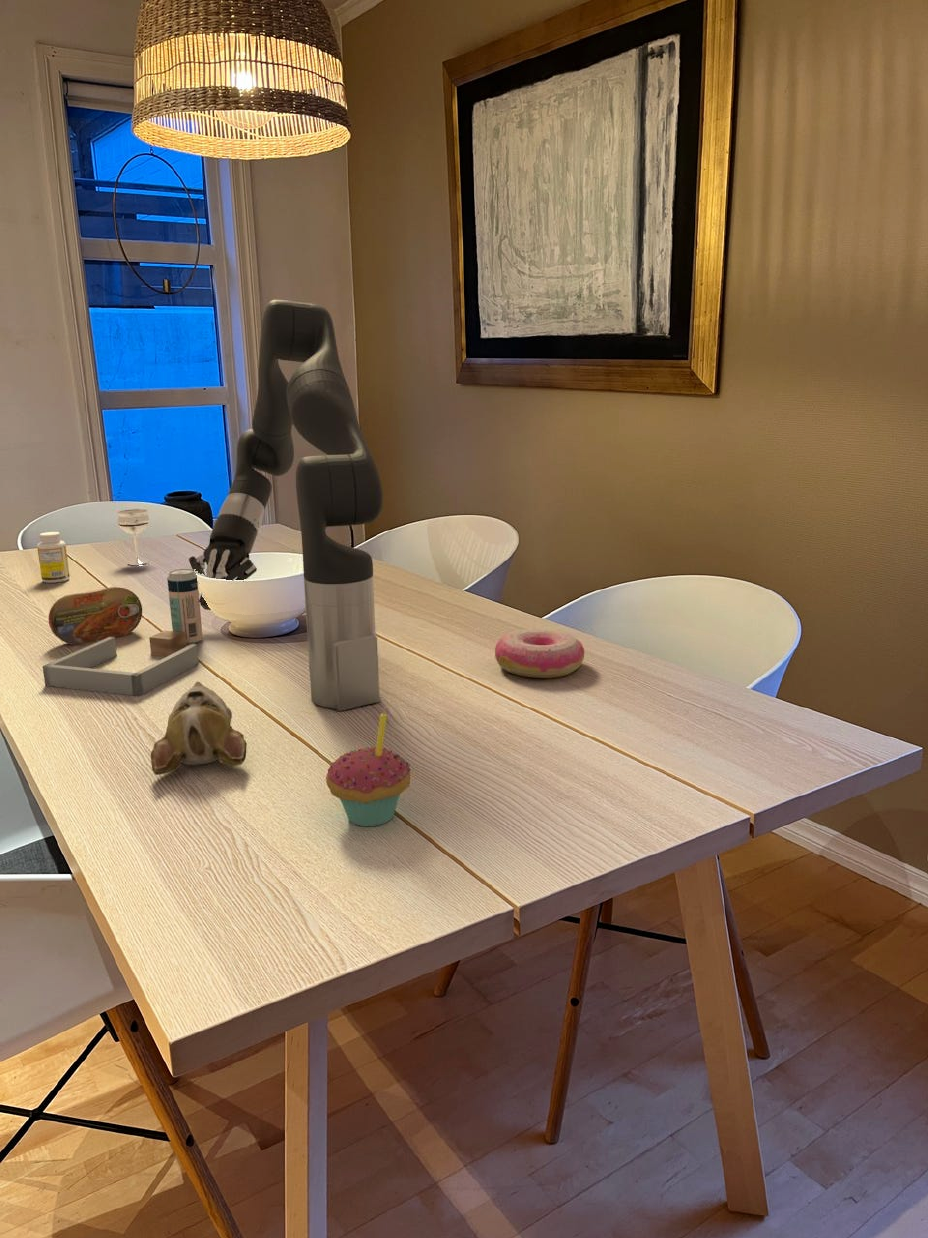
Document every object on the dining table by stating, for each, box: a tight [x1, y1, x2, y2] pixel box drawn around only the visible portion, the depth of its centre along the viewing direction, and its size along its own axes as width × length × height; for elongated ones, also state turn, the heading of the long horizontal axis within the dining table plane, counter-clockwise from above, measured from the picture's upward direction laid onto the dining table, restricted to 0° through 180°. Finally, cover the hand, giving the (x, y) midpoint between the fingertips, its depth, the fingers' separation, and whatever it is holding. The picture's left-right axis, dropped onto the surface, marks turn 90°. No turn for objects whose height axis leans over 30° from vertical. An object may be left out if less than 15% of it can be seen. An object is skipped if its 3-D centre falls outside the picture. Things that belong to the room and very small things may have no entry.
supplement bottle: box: [36, 531, 71, 584], centre depth 200 cm, size 6×6×10 cm
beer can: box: [166, 568, 204, 646], centre depth 156 cm, size 5×5×12 cm
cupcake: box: [325, 706, 411, 827], centre depth 96 cm, size 9×8×12 cm
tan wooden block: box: [148, 629, 188, 657], centre depth 152 cm, size 4×4×3 cm
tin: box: [48, 586, 143, 646], centre depth 159 cm, size 15×3×8 cm, turn 129°
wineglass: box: [117, 508, 150, 564], centre depth 216 cm, size 7×7×12 cm
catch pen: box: [42, 637, 200, 697], centre depth 141 cm, size 15×16×3 cm
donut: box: [494, 628, 585, 679], centre depth 141 cm, size 14×13×5 cm
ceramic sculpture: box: [150, 681, 247, 776], centre depth 111 cm, size 11×9×15 cm
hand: (206, 607), depth 162 cm, fingers closed
